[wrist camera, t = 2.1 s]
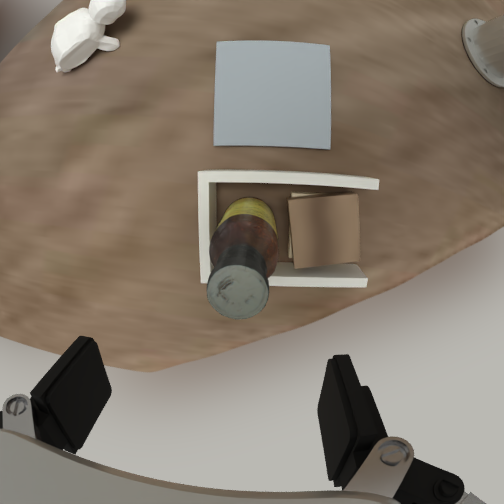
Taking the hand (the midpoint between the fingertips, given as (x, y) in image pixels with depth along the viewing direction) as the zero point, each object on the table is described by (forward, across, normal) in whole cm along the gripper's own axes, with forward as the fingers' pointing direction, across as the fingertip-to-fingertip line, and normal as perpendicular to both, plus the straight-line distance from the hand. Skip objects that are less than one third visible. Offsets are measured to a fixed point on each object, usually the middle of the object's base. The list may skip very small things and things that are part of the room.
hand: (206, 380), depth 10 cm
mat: (+28, -3, -17) cm, 33 cm away
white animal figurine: (+28, +22, -29) cm, 46 cm away
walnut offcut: (+26, -9, 0) cm, 28 cm away
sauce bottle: (+28, 0, 0) cm, 28 cm away
